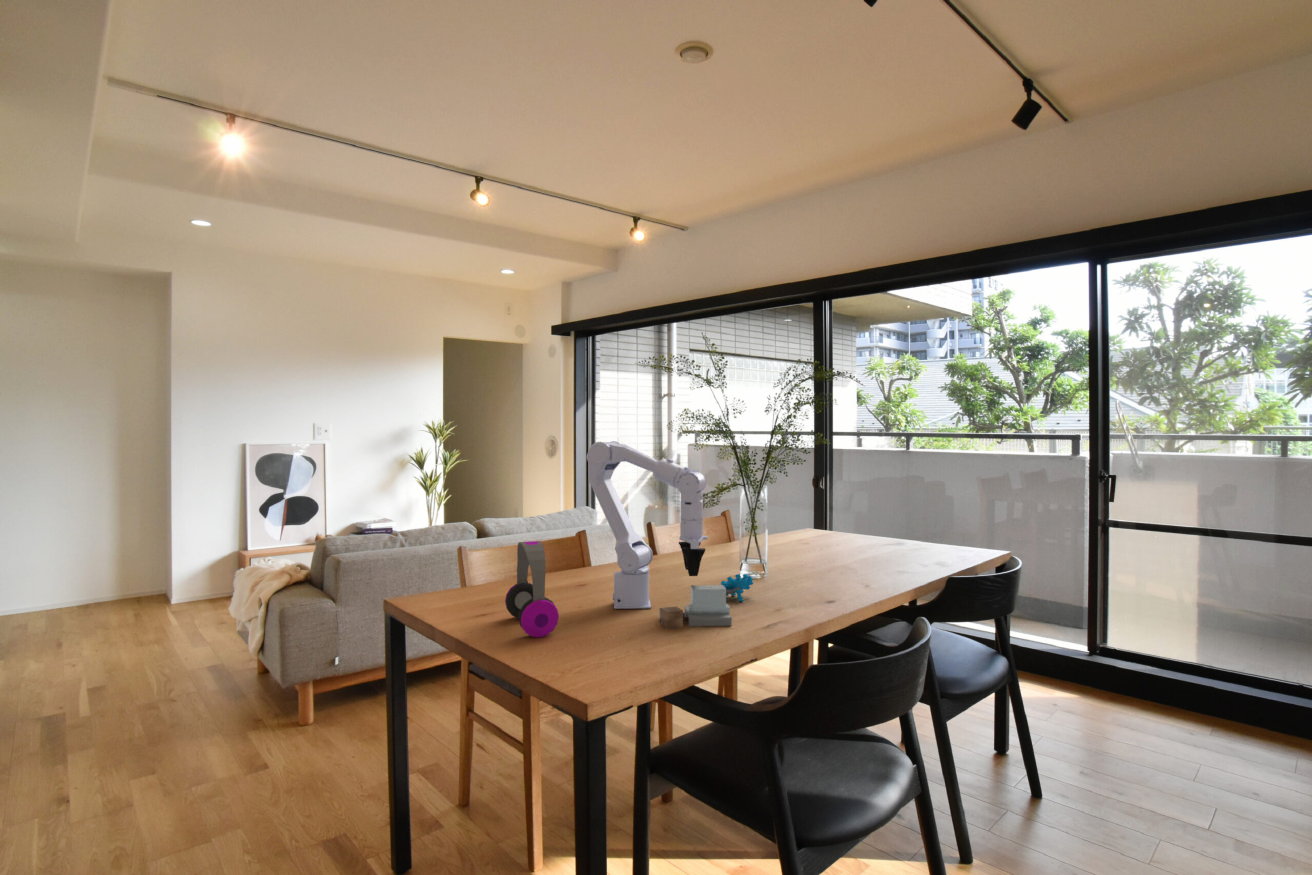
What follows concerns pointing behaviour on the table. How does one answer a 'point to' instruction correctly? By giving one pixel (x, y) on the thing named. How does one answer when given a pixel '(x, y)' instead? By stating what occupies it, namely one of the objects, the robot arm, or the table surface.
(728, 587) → the blue bumpy figure
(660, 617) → the bolt
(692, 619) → the stand
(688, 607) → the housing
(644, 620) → the table surface
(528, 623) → the headphones
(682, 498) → the robot arm
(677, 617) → the walnut block
